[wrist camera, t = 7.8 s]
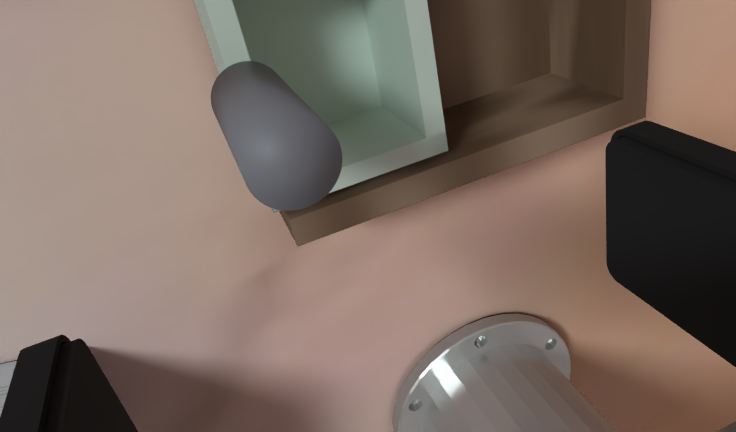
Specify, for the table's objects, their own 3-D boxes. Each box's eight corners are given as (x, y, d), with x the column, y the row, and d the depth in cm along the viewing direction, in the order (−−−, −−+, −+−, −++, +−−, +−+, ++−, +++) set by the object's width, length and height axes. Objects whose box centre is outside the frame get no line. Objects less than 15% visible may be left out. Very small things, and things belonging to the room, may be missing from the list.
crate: (358, -92, 22) (525, -99, 13) (396, 113, 26) (542, 218, 17) (156, -40, 21) (179, -7, 11) (231, 168, 25) (292, 317, 16)
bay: (554, -193, 24) (662, -221, 19) (562, 85, 30) (645, 117, 25) (170, -105, 21) (183, -111, 16) (266, 187, 27) (297, 246, 22)
